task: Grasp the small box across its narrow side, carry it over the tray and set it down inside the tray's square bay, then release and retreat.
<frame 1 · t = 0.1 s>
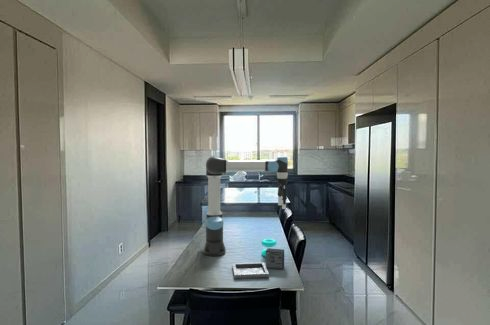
hand: (281, 207, 235), 28 cm above the table, fingers open, 13 cm apart
donuts: (268, 255, 215), on the table
tray: (250, 272, 185), on the table
small box: (275, 267, 194), on the table
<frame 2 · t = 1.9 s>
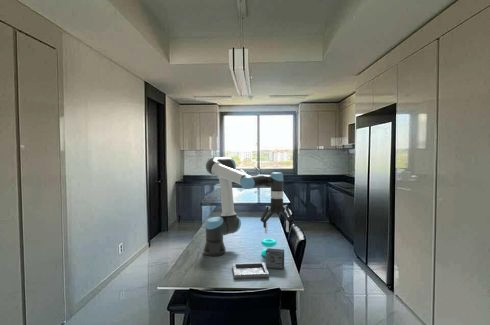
hand: (276, 232, 197), 20 cm above the table, fingers open, 13 cm apart
nothing on the table moved.
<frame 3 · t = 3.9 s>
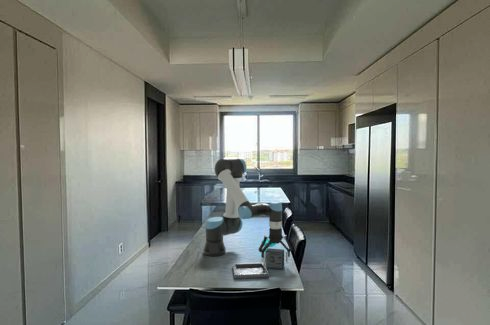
hand: (275, 262, 193), 3 cm above the table, fingers open, 13 cm apart
nothing on the table moved.
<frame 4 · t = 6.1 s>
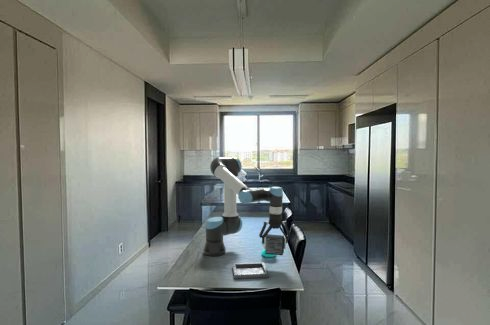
hand: (274, 248, 193), 11 cm above the table, fingers closed on small box, 12 cm apart
small box: (274, 253, 194), point 8 cm above the table, touching gripper
everything else where it was.
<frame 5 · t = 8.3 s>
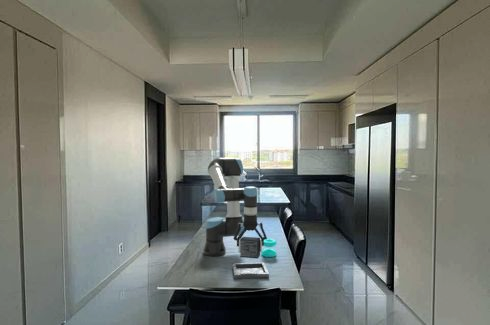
hand: (250, 251, 184), 12 cm above the table, fingers closed on small box, 12 cm apart
small box: (250, 256, 185), point 9 cm above the table, touching gripper
everything else where it was.
when the fingers open (4 cm above the table, at t = 10.8 s): small box stays where it is, resting on tray.
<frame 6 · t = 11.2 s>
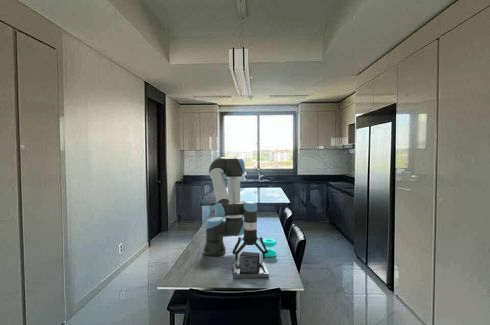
hand: (250, 265, 185), 4 cm above the table, fingers open, 13 cm apart
small box: (249, 271, 185), resting on tray
everything else where it was.
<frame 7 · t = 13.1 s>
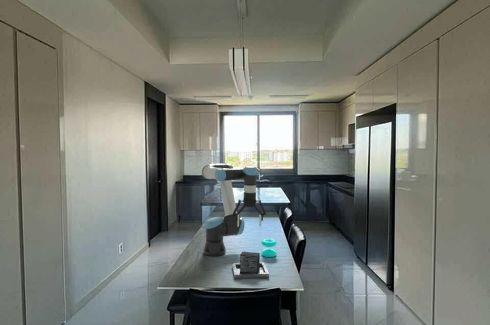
hand: (249, 226, 198), 23 cm above the table, fingers open, 13 cm apart
nothing on the table moved.
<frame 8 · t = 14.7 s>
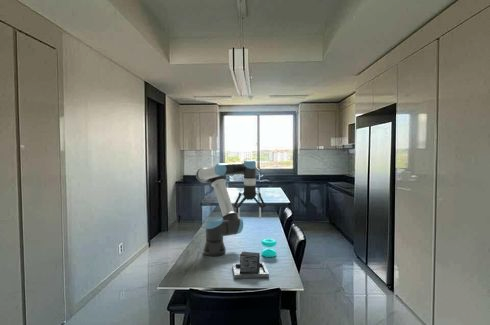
hand: (249, 218, 205), 27 cm above the table, fingers open, 13 cm apart
nothing on the table moved.
at the end: small box inside the target area on the tray (0.1 cm from its centre), point 0.4 cm above the tray's base; small box tilted 0°; the gripper is holding nothing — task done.
